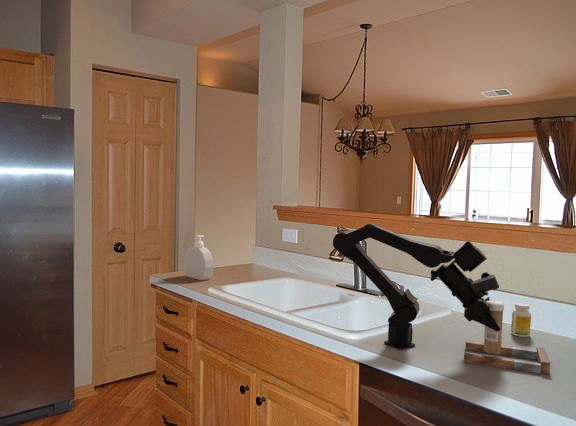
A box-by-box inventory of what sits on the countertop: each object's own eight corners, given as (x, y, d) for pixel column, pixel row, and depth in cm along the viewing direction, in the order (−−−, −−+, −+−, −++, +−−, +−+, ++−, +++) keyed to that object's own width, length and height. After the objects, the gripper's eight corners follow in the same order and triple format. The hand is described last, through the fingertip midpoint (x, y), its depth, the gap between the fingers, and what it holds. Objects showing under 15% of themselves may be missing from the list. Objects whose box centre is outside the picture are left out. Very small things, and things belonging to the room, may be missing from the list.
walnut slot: (463, 361, 128) (464, 350, 128) (465, 347, 139) (466, 337, 139) (549, 374, 120) (550, 362, 120) (544, 358, 131) (544, 347, 131)
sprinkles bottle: (504, 352, 130) (507, 302, 129) (494, 355, 128) (497, 305, 127) (489, 347, 134) (492, 299, 133) (479, 350, 131) (481, 301, 130)
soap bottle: (214, 279, 225) (214, 236, 223) (205, 281, 221) (205, 237, 219) (192, 274, 235) (193, 233, 234) (183, 276, 231) (184, 234, 230)
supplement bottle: (507, 332, 154) (508, 302, 153) (520, 331, 156) (521, 301, 155) (520, 338, 149) (522, 307, 148) (534, 336, 151) (535, 306, 150)
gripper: (480, 269, 122) (526, 318, 119) (481, 259, 139) (521, 301, 136) (446, 297, 125) (490, 345, 122) (451, 283, 143) (489, 325, 139)
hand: (499, 328), depth 130 cm, fingers closed on sprinkles bottle, 4 cm apart
